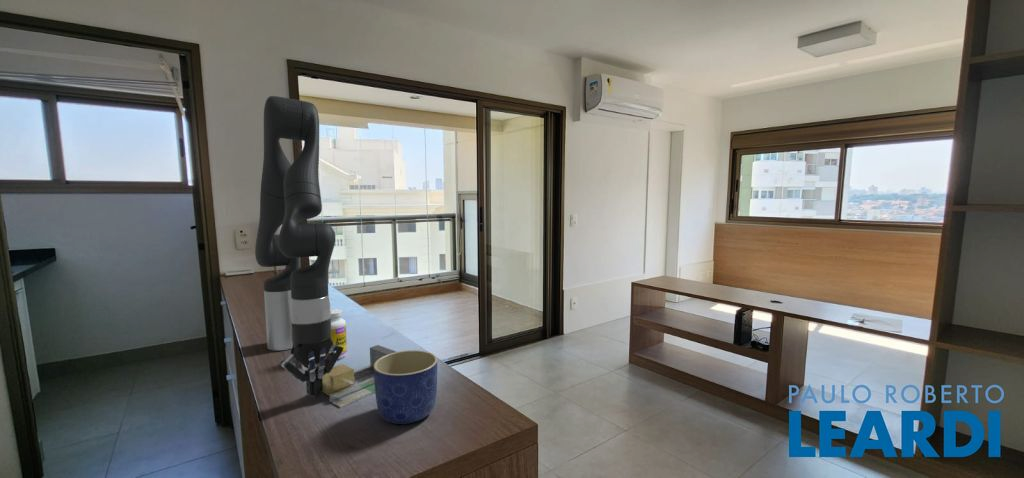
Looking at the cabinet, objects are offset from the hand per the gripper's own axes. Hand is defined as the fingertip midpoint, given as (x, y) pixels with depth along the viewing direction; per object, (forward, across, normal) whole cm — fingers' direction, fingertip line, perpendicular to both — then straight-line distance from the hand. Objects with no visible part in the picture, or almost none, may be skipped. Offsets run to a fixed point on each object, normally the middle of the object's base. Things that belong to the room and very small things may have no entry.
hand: (314, 395), depth 86 cm
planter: (+1, -9, +20) cm, 22 cm away
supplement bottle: (+1, -16, -20) cm, 25 cm away
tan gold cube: (+1, -5, +2) cm, 6 cm away
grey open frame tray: (+1, -10, +2) cm, 10 cm away
